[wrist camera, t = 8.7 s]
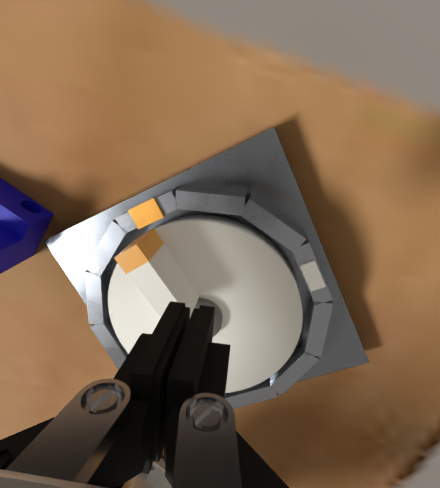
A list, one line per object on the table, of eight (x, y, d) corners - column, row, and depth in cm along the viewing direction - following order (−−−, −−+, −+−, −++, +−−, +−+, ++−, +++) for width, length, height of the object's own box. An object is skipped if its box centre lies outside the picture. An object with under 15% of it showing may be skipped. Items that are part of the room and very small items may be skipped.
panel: (363, 349, 26) (377, 381, 23) (166, 405, 31) (154, 438, 28) (273, 126, 21) (275, 127, 18) (55, 234, 26) (26, 250, 23)
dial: (333, 337, 24) (349, 385, 20) (183, 398, 28) (167, 450, 24) (235, 175, 21) (228, 188, 16) (82, 269, 25) (42, 301, 20)
